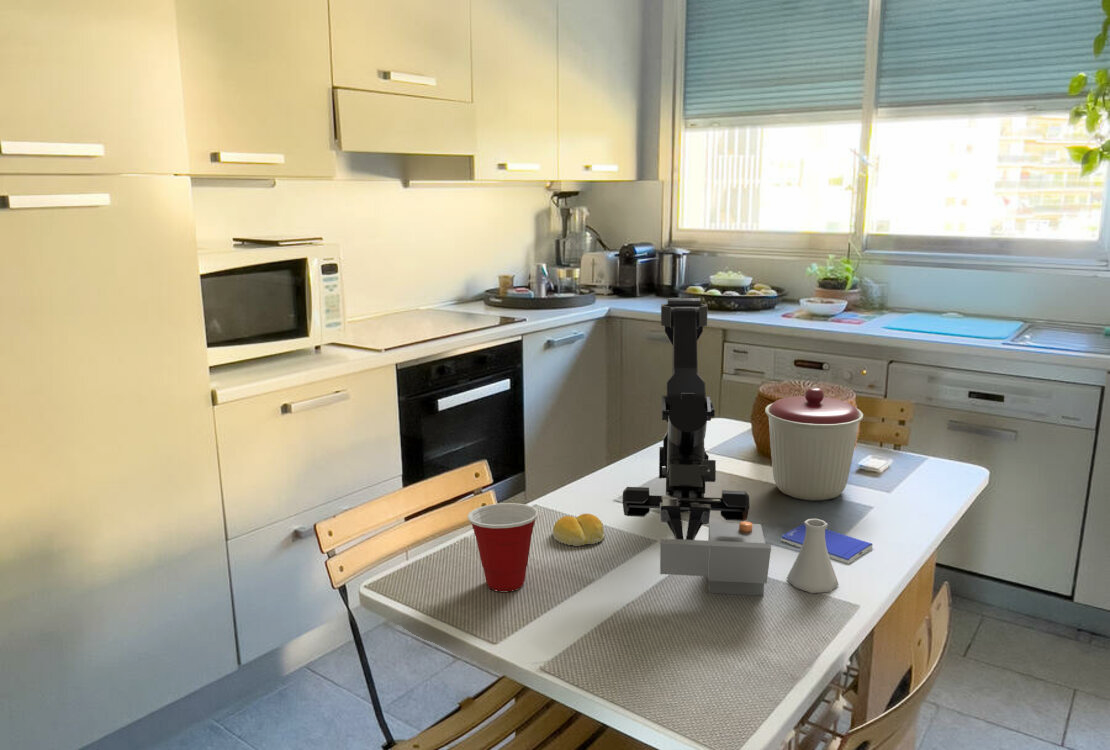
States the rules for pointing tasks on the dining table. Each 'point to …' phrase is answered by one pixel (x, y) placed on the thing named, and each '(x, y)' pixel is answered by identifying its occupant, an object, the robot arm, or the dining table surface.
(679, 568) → the side door
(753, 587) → the grey box
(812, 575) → the flask
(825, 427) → the canister
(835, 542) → the hard drive
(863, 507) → the dining table surface
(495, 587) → the plastic cup
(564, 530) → the bread roll
